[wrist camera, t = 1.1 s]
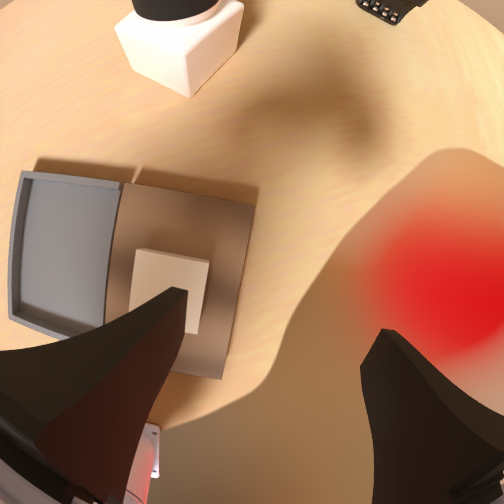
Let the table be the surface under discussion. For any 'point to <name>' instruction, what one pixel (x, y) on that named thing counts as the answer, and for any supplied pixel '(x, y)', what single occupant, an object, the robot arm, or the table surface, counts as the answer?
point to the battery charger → (390, 8)
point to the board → (188, 244)
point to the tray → (61, 252)
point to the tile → (169, 280)
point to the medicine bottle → (180, 40)
